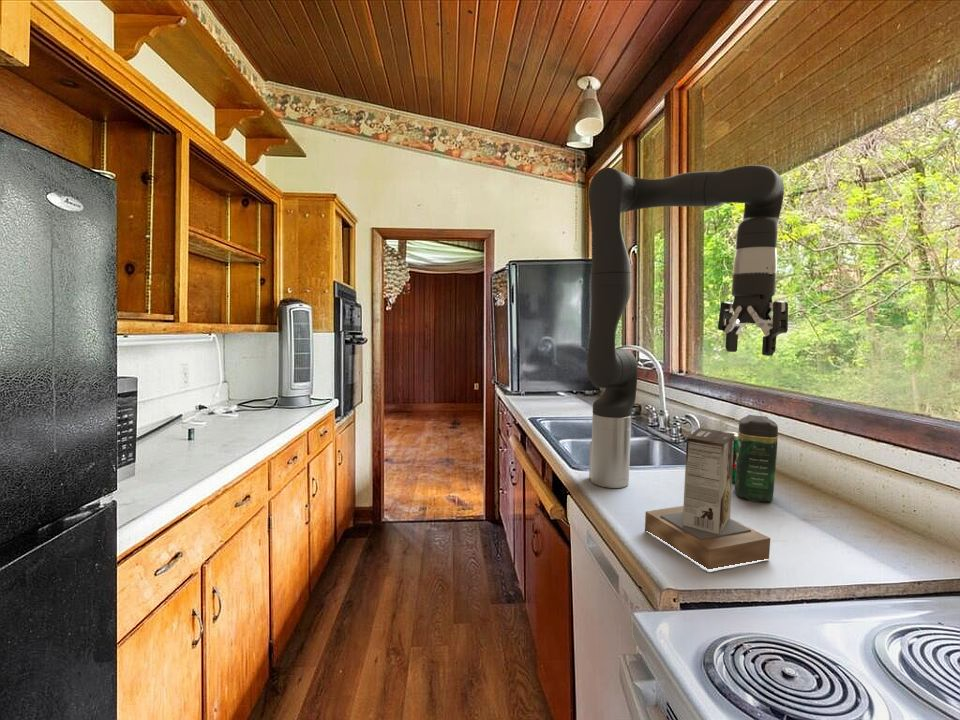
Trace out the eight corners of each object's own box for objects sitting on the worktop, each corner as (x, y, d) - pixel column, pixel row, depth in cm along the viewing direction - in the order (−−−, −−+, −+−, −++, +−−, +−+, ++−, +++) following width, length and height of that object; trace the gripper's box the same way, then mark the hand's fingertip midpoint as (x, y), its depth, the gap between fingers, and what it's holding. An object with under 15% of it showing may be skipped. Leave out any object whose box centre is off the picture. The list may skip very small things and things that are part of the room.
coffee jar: (775, 505, 107) (781, 422, 106) (735, 499, 111) (740, 419, 109) (771, 491, 116) (776, 414, 114) (733, 486, 119) (738, 411, 118)
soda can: (716, 476, 127) (718, 430, 126) (738, 478, 125) (740, 432, 124) (719, 482, 122) (722, 435, 121) (742, 484, 121) (745, 437, 119)
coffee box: (694, 509, 94) (698, 427, 92) (731, 518, 90) (736, 432, 89) (680, 525, 87) (685, 436, 85) (720, 535, 83) (725, 442, 81)
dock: (644, 531, 94) (645, 509, 94) (698, 522, 98) (699, 501, 98) (708, 573, 79) (709, 547, 79) (768, 560, 83) (770, 536, 83)
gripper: (711, 274, 102) (707, 351, 104) (772, 268, 89) (766, 357, 91) (739, 275, 105) (734, 350, 106) (802, 270, 91) (795, 356, 93)
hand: (749, 353), depth 99 cm, fingers open, 8 cm apart
